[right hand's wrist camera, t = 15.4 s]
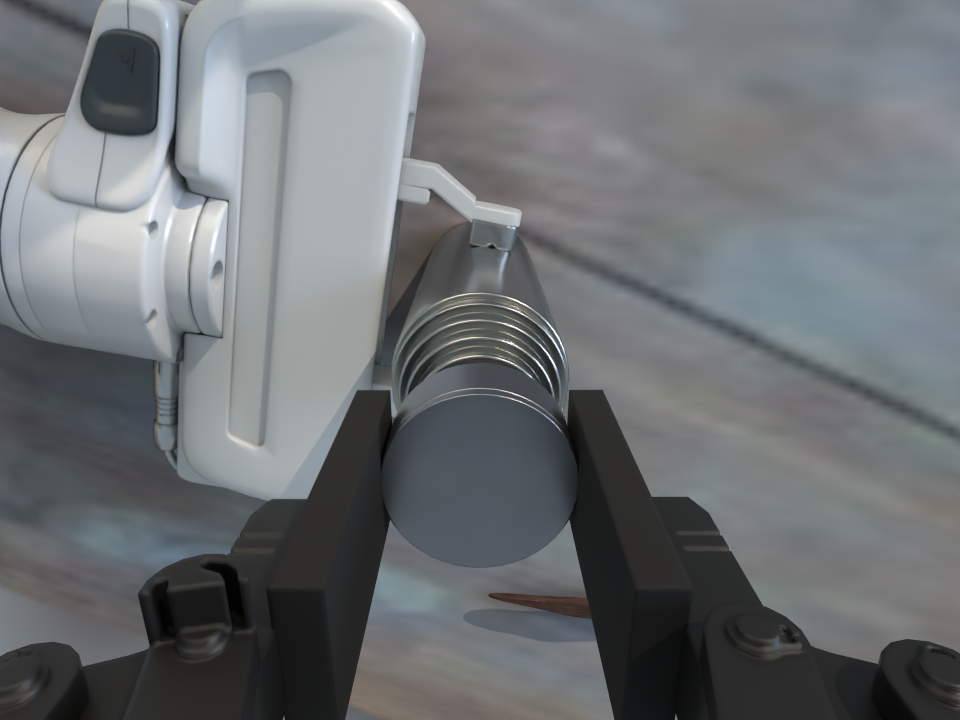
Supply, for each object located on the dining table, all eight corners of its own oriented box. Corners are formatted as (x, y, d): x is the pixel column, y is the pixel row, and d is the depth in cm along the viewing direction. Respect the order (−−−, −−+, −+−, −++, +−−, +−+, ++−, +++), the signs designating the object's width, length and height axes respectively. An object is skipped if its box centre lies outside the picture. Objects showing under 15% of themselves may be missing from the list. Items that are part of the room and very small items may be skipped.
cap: (562, 522, 15) (572, 569, 14) (393, 519, 15) (383, 567, 14) (575, 364, 14) (587, 395, 12) (388, 360, 14) (375, 392, 12)
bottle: (416, 307, 32) (334, 543, 14) (442, 206, 30) (388, 329, 12) (514, 335, 33) (556, 595, 15) (545, 237, 31) (638, 397, 13)
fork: (492, 571, 37) (493, 594, 36) (752, 608, 38) (765, 633, 37) (484, 606, 38) (485, 631, 36) (738, 641, 39) (751, 668, 37)
